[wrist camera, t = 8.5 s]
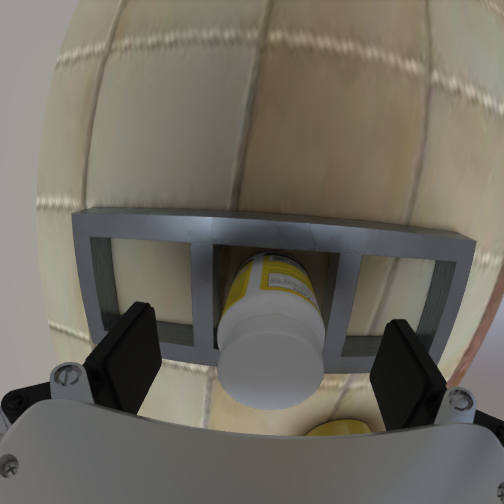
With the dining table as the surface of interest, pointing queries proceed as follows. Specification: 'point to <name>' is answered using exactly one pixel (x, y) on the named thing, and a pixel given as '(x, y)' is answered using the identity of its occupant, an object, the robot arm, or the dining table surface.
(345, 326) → the grey long slotted tray
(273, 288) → the supplement bottle
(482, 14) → the dining table surface
